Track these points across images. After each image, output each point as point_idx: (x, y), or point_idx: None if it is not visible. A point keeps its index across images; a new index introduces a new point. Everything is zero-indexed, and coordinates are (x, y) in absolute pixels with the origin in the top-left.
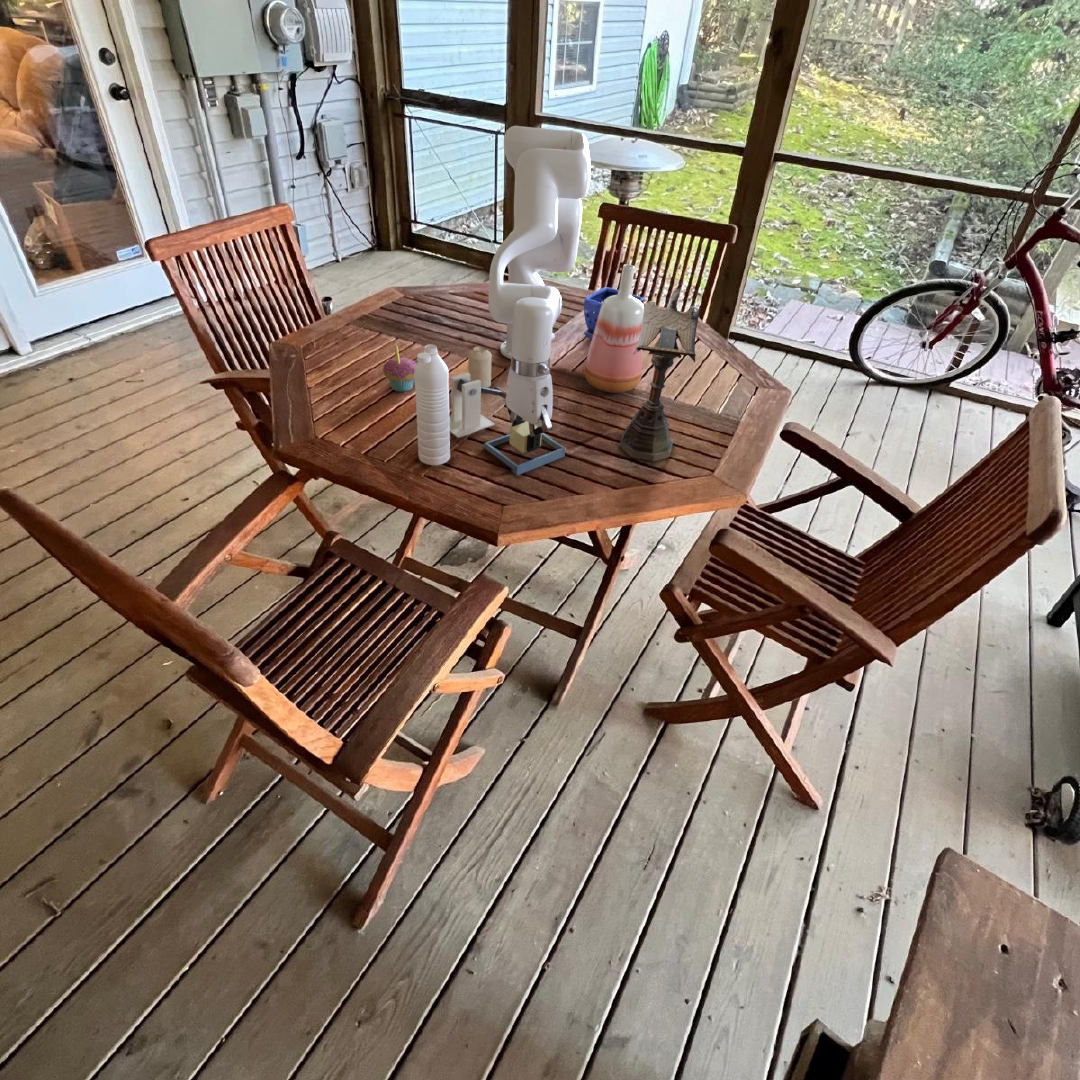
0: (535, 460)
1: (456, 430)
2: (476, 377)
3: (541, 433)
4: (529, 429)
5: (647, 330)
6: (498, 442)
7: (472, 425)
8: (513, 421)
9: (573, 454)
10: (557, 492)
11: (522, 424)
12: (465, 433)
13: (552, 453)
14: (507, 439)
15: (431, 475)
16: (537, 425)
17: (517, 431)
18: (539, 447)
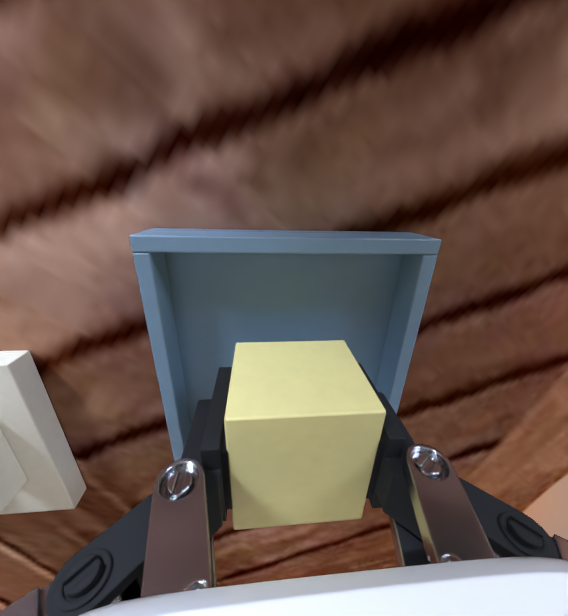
0: (397, 409)
1: (23, 498)
2: None
3: (432, 457)
4: (398, 553)
5: None
6: (186, 432)
7: (5, 459)
8: (213, 541)
9: (433, 180)
10: (513, 398)
11: (245, 472)
12: (59, 485)
13: (418, 326)
14: (181, 394)
15: (225, 572)
16: (415, 513)
17: (298, 522)
18: (358, 363)
